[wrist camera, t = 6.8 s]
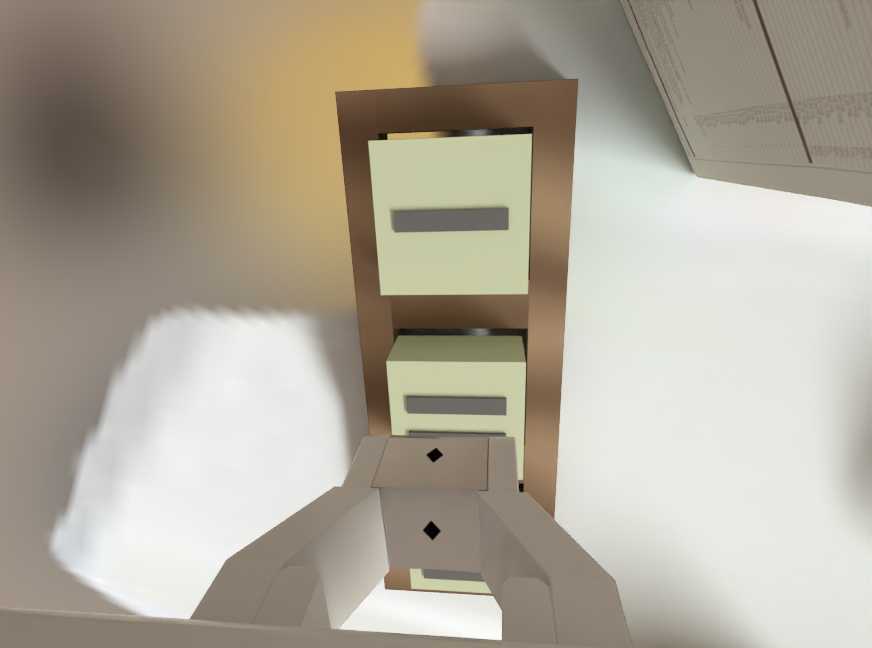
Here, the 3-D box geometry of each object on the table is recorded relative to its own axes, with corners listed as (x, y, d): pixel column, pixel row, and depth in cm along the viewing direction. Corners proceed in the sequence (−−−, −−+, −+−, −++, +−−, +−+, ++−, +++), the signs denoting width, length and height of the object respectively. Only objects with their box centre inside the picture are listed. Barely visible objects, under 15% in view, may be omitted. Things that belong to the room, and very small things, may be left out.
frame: (347, 95, 23) (335, 91, 21) (570, 83, 22) (578, 78, 20) (391, 563, 33) (385, 589, 31) (546, 571, 31) (549, 599, 30)
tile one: (384, 140, 21) (367, 140, 18) (526, 134, 21) (532, 133, 18) (394, 276, 23) (380, 296, 20) (523, 274, 23) (528, 295, 20)
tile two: (398, 335, 24) (385, 362, 21) (521, 335, 24) (526, 363, 21) (405, 439, 26) (395, 477, 23) (519, 443, 26) (523, 482, 23)
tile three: (413, 468, 29) (404, 505, 26) (517, 471, 28) (519, 510, 25) (418, 548, 31) (410, 590, 28) (515, 553, 30) (517, 597, 27)
